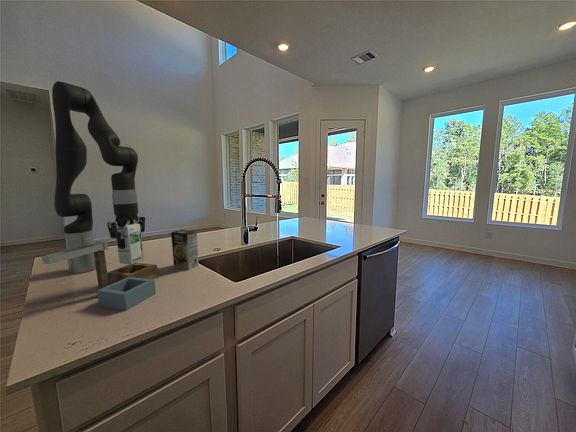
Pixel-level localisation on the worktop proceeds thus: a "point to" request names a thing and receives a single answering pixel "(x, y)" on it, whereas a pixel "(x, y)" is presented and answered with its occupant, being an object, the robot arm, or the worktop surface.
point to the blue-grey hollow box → (126, 293)
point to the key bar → (74, 252)
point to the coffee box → (185, 249)
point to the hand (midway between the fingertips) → (129, 246)
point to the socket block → (121, 271)
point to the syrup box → (131, 245)
